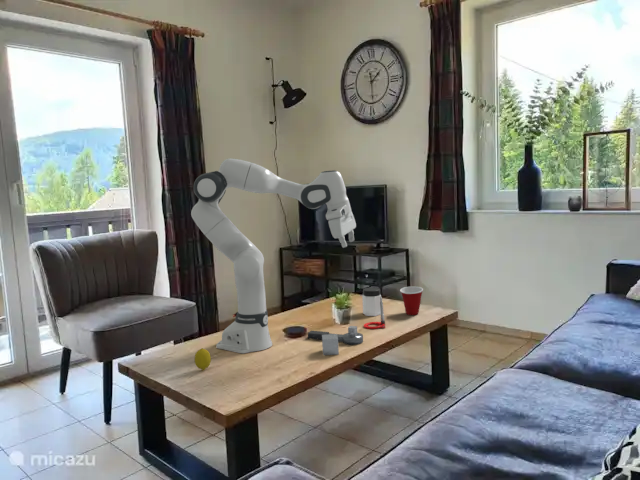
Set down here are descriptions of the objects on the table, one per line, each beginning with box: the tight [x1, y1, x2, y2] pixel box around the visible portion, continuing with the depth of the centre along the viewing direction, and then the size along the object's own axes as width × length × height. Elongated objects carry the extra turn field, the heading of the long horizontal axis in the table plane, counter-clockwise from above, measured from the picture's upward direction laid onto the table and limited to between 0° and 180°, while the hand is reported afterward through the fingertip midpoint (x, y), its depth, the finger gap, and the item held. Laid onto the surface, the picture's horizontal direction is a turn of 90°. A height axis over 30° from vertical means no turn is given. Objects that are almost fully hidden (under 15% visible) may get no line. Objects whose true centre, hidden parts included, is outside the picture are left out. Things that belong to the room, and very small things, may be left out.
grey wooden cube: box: [321, 333, 340, 356], centre depth 190 cm, size 6×6×6 cm
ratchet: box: [307, 325, 364, 346], centre depth 204 cm, size 23×8×6 cm, turn 67°
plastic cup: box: [399, 286, 424, 316], centre depth 237 cm, size 11×11×12 cm
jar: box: [361, 287, 382, 317], centre depth 240 cm, size 9×8×12 cm
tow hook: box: [363, 296, 386, 330], centre depth 220 cm, size 8×13×9 cm
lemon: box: [194, 348, 212, 371], centre depth 177 cm, size 6×6×8 cm
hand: (348, 244), depth 199 cm, fingers open, 8 cm apart
